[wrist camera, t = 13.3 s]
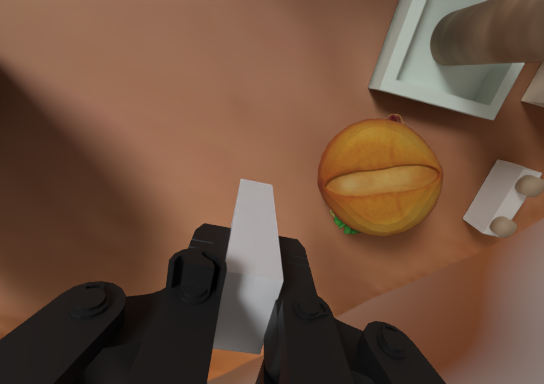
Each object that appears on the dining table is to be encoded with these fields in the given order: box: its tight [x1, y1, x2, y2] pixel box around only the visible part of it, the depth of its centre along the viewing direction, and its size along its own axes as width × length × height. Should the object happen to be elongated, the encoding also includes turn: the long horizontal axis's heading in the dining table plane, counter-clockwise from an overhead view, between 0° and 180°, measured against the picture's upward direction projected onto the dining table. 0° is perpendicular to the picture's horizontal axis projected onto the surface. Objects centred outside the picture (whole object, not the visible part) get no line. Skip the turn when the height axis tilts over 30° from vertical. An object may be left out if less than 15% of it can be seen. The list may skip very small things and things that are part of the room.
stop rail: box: [463, 159, 544, 238], centre depth 27 cm, size 7×2×4 cm, turn 166°
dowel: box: [430, 0, 544, 66], centre depth 17 cm, size 4×4×12 cm
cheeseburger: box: [318, 114, 443, 236], centre depth 24 cm, size 10×11×10 cm
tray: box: [368, 0, 525, 120], centre depth 22 cm, size 11×11×2 cm
